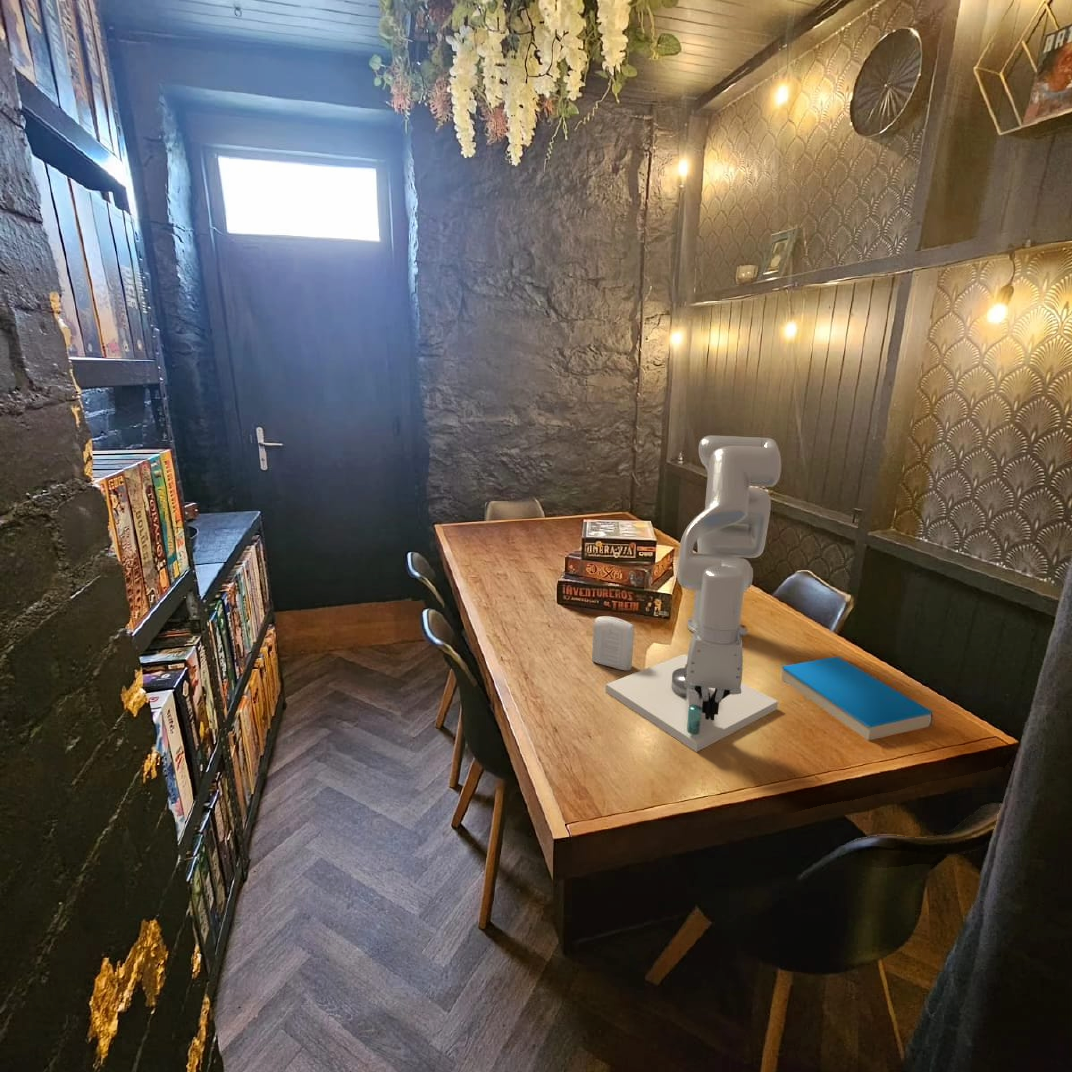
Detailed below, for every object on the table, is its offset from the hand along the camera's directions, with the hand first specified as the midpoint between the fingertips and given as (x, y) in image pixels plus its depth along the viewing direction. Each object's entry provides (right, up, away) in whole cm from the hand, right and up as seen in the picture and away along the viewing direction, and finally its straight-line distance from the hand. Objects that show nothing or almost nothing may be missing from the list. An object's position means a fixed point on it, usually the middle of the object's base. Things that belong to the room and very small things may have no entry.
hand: (709, 716), depth 114 cm
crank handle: (-2, 0, +7) cm, 7 cm away
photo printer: (-15, +4, +29) cm, 33 cm away
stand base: (0, -1, +13) cm, 13 cm away
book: (+35, -2, +14) cm, 38 cm away
